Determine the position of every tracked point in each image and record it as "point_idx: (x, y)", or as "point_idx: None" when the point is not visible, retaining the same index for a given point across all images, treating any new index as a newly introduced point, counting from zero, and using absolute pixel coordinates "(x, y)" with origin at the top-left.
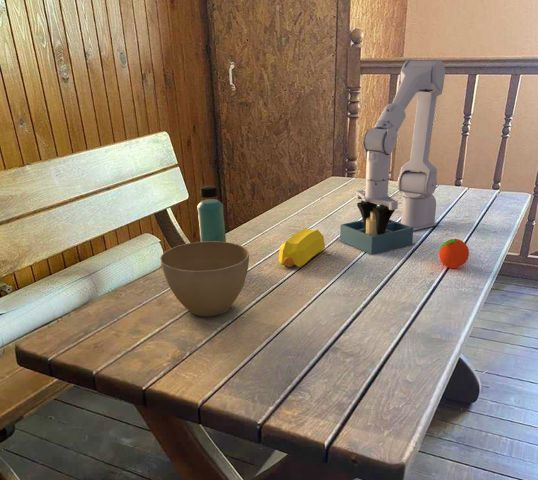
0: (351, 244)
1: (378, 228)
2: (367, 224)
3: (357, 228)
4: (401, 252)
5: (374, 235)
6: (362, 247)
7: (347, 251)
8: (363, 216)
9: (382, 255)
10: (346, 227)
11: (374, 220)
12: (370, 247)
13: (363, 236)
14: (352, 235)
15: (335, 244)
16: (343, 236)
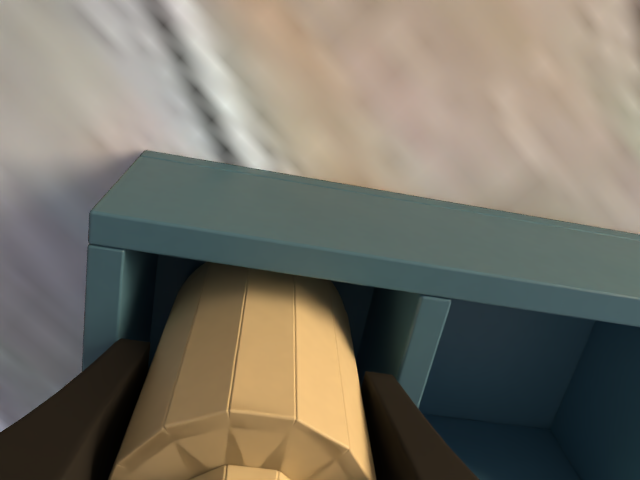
0: (466, 207)
1: (83, 375)
2: (281, 369)
3: (594, 446)
4: (14, 367)
5: (180, 316)
6: (290, 184)
7: (383, 45)
8: (435, 476)
9: (53, 201)
10: (632, 293)
11: (173, 459)
12: (149, 172)
13: (277, 226)
14: (484, 243)
15: (618, 124)
16: (619, 249)
